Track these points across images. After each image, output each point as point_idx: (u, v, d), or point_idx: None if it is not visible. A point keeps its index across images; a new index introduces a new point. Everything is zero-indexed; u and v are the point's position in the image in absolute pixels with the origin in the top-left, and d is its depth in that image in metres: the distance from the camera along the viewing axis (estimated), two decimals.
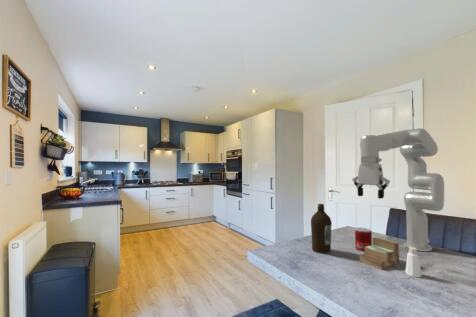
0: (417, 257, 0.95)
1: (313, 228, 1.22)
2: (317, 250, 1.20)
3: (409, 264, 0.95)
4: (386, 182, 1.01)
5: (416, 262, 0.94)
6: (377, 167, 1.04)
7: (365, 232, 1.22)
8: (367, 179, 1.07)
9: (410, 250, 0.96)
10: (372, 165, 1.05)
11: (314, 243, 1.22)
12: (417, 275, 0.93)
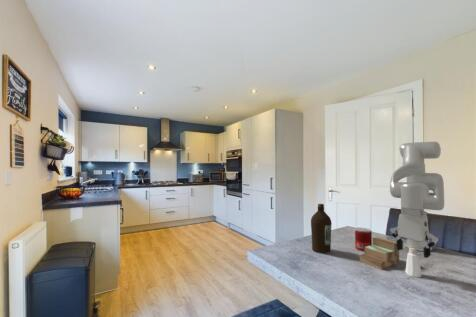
0: (417, 257, 0.95)
1: (313, 228, 1.22)
2: (317, 250, 1.20)
3: (409, 264, 0.95)
4: (434, 240, 0.89)
5: (416, 262, 0.94)
6: (422, 221, 0.92)
7: (365, 232, 1.22)
8: (409, 233, 0.95)
9: (410, 250, 0.96)
10: (416, 218, 0.93)
11: (314, 243, 1.22)
12: (417, 275, 0.93)
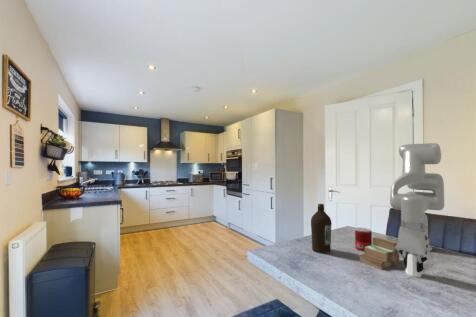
0: None
1: (313, 228, 1.22)
2: (317, 250, 1.20)
3: (409, 264, 0.95)
4: (428, 257, 0.91)
5: (416, 261, 0.94)
6: (423, 235, 0.92)
7: (365, 232, 1.22)
8: (410, 247, 0.95)
9: None
10: (416, 232, 0.93)
11: (314, 243, 1.22)
12: (417, 275, 0.93)
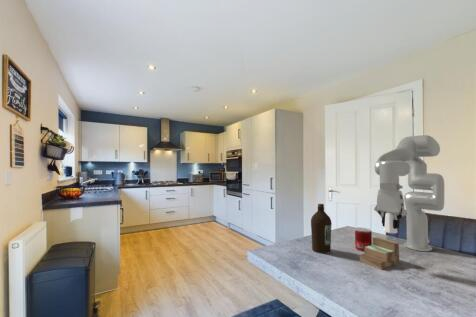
0: (393, 215, 1.03)
1: (313, 228, 1.22)
2: (317, 250, 1.20)
3: (386, 222, 1.04)
4: (403, 214, 1.00)
5: (393, 219, 1.02)
6: (398, 195, 1.01)
7: (365, 232, 1.22)
8: (387, 206, 1.04)
9: None
10: (393, 192, 1.02)
11: (314, 243, 1.22)
12: (393, 231, 1.02)
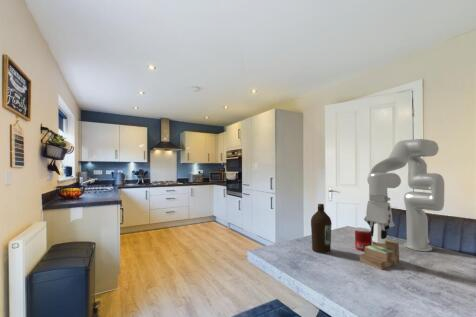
0: (381, 226, 1.07)
1: (313, 228, 1.22)
2: (317, 250, 1.20)
3: (375, 232, 1.08)
4: (390, 225, 1.04)
5: None
6: (386, 206, 1.05)
7: (365, 232, 1.22)
8: (375, 217, 1.08)
9: None
10: (381, 204, 1.06)
11: (314, 243, 1.22)
12: (381, 241, 1.06)
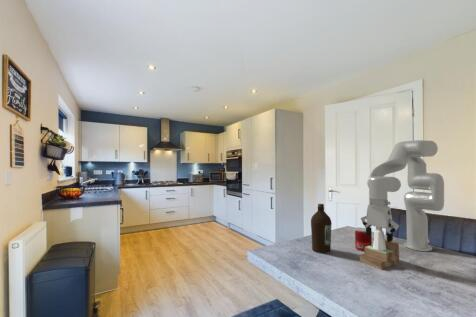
0: (382, 233, 1.07)
1: (313, 228, 1.22)
2: (317, 250, 1.20)
3: (375, 239, 1.08)
4: (395, 227, 1.02)
5: (381, 237, 1.07)
6: (386, 210, 1.05)
7: (365, 232, 1.22)
8: (375, 221, 1.08)
9: (376, 227, 1.09)
10: (381, 208, 1.06)
11: (314, 243, 1.22)
12: (382, 249, 1.06)
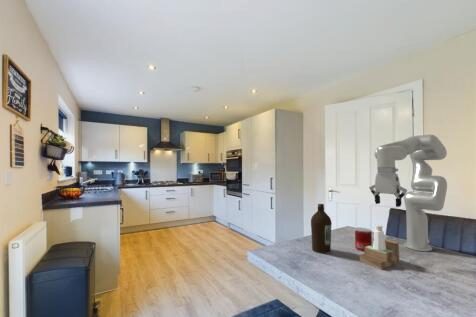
0: (382, 233, 1.07)
1: (313, 228, 1.22)
2: (317, 250, 1.20)
3: (375, 239, 1.08)
4: (403, 191, 1.06)
5: (381, 237, 1.07)
6: (394, 177, 1.09)
7: (365, 232, 1.22)
8: (384, 188, 1.12)
9: (376, 227, 1.09)
10: (389, 175, 1.10)
11: (314, 243, 1.22)
12: (382, 249, 1.06)
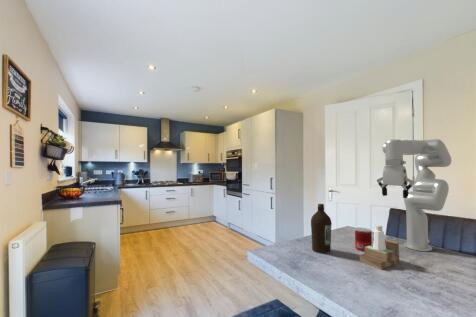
0: (382, 233, 1.07)
1: (313, 228, 1.22)
2: (317, 250, 1.20)
3: (375, 239, 1.08)
4: (411, 183, 1.10)
5: (381, 237, 1.07)
6: (402, 169, 1.13)
7: (365, 232, 1.22)
8: (392, 180, 1.16)
9: (376, 227, 1.09)
10: (397, 167, 1.14)
11: (314, 243, 1.22)
12: (382, 249, 1.06)
